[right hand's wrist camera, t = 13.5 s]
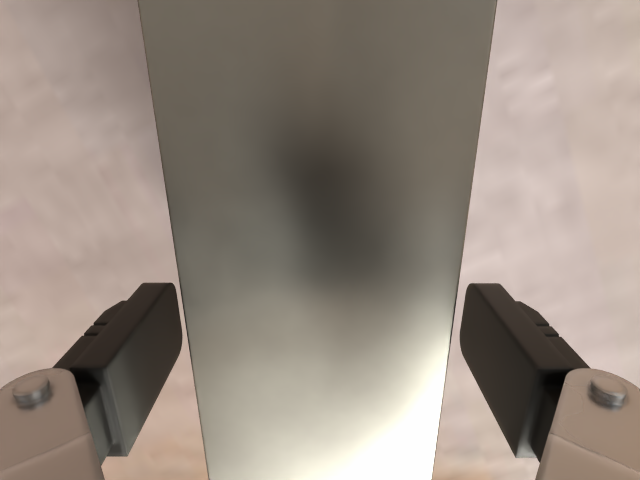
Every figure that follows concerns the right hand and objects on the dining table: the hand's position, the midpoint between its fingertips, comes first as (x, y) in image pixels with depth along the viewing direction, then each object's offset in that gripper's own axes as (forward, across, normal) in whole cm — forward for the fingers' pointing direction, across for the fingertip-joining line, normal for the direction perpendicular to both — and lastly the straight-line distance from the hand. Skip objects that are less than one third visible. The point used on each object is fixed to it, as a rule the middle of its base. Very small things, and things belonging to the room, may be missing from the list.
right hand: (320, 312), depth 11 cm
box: (+9, 0, -9) cm, 12 cm away
